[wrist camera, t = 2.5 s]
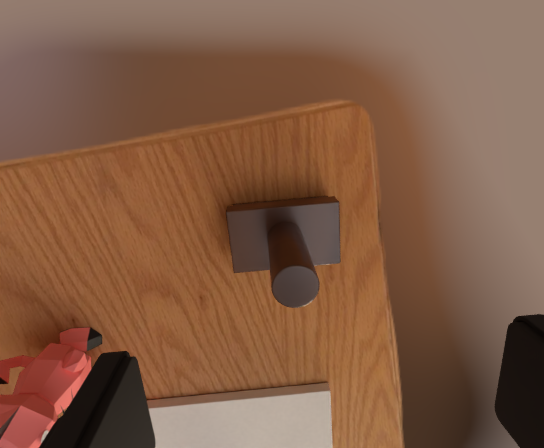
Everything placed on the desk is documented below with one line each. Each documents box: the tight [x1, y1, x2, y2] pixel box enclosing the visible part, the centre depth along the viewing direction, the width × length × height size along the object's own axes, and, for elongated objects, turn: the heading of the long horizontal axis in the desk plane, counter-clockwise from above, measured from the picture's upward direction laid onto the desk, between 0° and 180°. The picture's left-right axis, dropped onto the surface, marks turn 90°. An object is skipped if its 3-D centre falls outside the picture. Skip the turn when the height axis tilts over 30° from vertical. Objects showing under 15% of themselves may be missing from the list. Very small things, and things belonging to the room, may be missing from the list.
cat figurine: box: [0, 327, 102, 448], centre depth 24 cm, size 7×7×12 cm
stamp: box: [226, 196, 340, 308], centre depth 22 cm, size 8×4×10 cm, turn 95°
